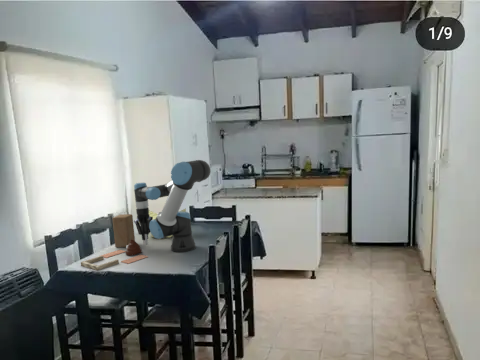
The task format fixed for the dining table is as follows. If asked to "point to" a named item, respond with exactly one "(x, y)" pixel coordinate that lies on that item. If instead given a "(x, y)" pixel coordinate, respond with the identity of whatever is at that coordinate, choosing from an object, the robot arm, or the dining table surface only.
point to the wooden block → (123, 229)
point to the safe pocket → (98, 267)
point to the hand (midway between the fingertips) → (145, 244)
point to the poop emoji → (133, 248)
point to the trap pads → (126, 259)
